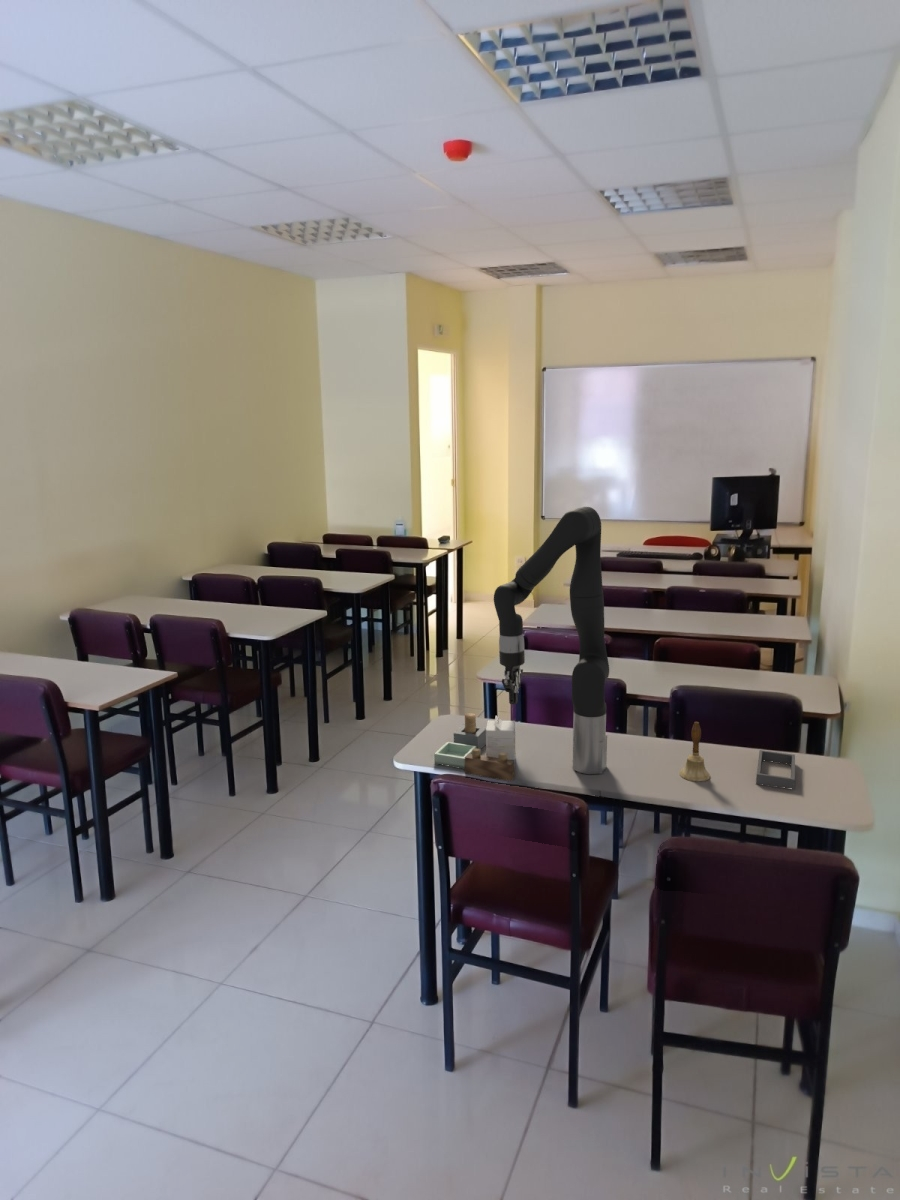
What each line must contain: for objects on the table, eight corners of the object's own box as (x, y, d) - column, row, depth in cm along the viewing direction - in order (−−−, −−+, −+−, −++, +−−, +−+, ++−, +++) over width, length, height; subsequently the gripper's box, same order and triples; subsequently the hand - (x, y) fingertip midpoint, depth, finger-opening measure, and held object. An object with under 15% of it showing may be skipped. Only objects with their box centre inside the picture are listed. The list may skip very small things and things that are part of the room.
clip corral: (794, 764, 231) (795, 754, 231) (793, 789, 215) (794, 779, 215) (758, 759, 235) (759, 749, 234) (755, 784, 219) (756, 774, 218)
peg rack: (514, 777, 226) (514, 754, 224) (511, 781, 223) (511, 758, 222) (468, 769, 231) (468, 746, 230) (464, 773, 229) (464, 750, 227)
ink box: (514, 768, 231) (514, 725, 228) (485, 768, 232) (485, 724, 229) (515, 756, 240) (515, 714, 237) (487, 755, 241) (487, 714, 238)
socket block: (487, 742, 251) (487, 727, 249) (478, 752, 243) (477, 736, 242) (463, 738, 254) (463, 724, 253) (453, 748, 246) (453, 733, 245)
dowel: (477, 743, 249) (477, 713, 247) (473, 748, 246) (473, 717, 244) (467, 742, 251) (467, 712, 248) (463, 746, 248) (463, 716, 245)
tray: (476, 756, 240) (476, 746, 239) (464, 769, 232) (464, 758, 231) (447, 751, 244) (447, 741, 243) (434, 764, 235) (434, 753, 235)
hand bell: (689, 783, 220) (692, 729, 217) (673, 771, 228) (676, 718, 225) (716, 779, 222) (719, 725, 219) (699, 767, 230) (702, 715, 227)
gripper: (516, 655, 231) (518, 711, 235) (530, 643, 243) (532, 697, 246) (492, 653, 234) (494, 709, 238) (507, 642, 246) (509, 695, 249)
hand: (513, 703), depth 242 cm, fingers closed
